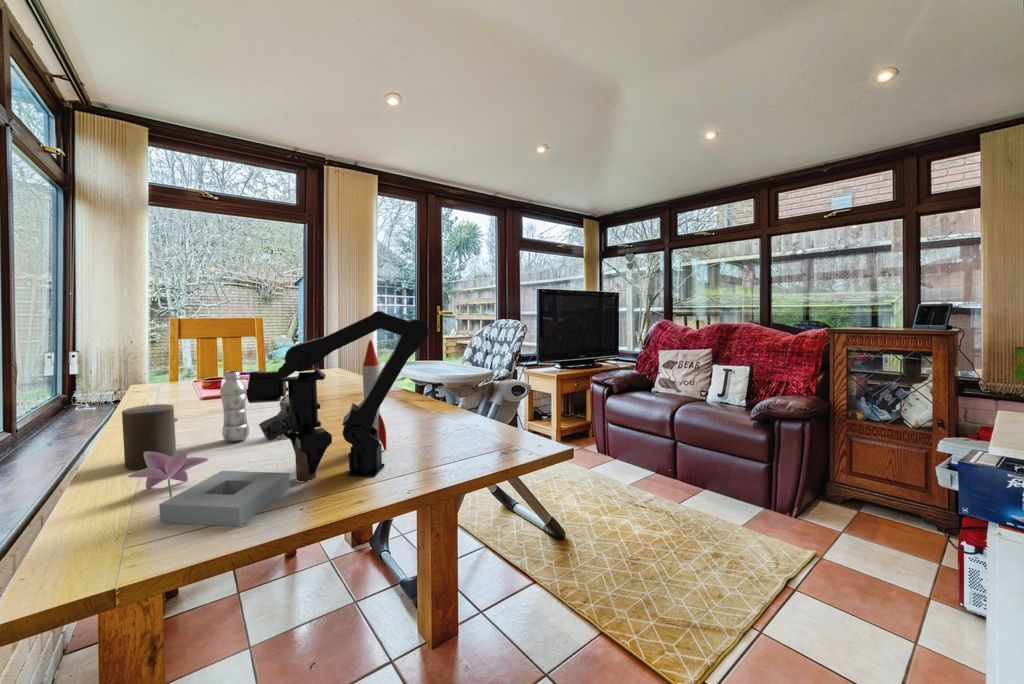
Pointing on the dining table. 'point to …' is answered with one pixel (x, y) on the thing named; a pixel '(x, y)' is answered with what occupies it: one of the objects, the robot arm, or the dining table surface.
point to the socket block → (225, 498)
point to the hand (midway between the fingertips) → (305, 467)
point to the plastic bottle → (234, 407)
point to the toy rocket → (369, 377)
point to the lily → (167, 467)
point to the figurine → (283, 410)
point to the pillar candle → (148, 433)
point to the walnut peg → (302, 466)
